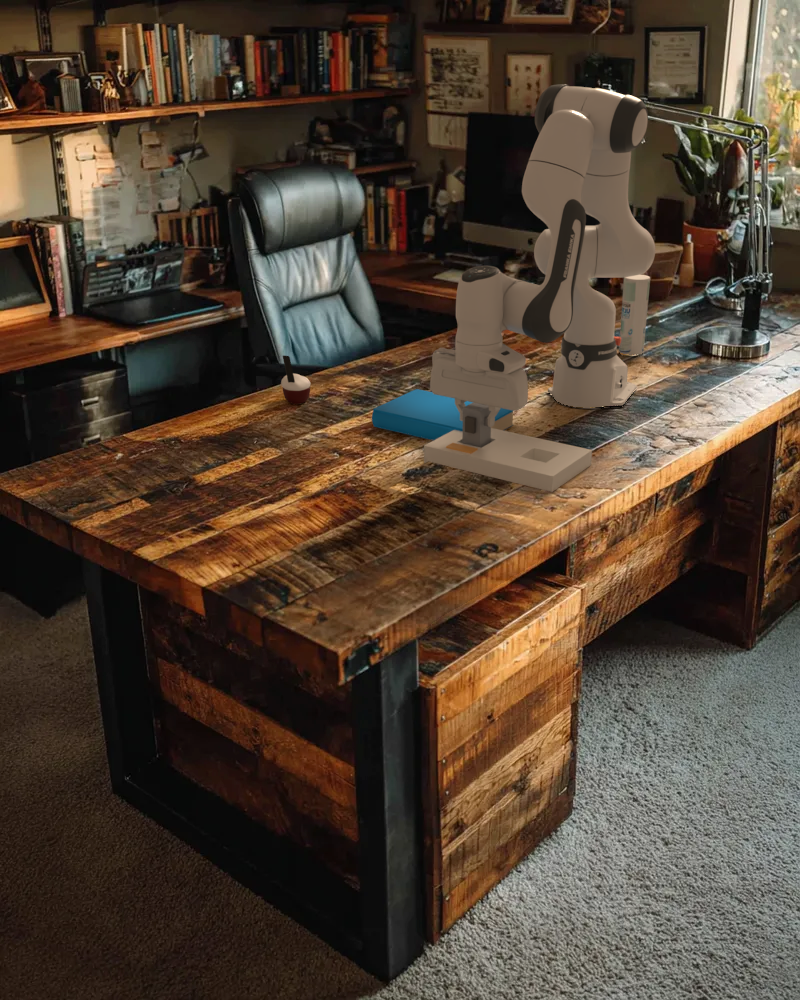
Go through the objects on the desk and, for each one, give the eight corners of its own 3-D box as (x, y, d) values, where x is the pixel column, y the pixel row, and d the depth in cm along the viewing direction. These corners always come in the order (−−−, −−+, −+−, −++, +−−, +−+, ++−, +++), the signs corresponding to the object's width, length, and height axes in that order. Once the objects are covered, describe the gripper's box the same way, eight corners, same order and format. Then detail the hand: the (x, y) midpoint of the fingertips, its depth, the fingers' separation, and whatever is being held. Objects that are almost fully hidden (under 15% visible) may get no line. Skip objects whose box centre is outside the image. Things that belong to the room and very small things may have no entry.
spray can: (648, 355, 281) (654, 278, 273) (625, 357, 279) (631, 280, 271) (636, 349, 287) (642, 273, 279) (614, 351, 285) (619, 275, 277)
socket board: (467, 441, 224) (467, 421, 223) (590, 469, 210) (592, 448, 208) (424, 464, 212) (423, 444, 211) (551, 496, 198) (552, 474, 196)
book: (415, 388, 242) (514, 406, 229) (416, 407, 244) (514, 426, 231) (370, 409, 229) (472, 430, 216) (371, 429, 231) (472, 450, 218)
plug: (472, 445, 216) (473, 402, 213) (490, 449, 214) (491, 405, 211) (460, 452, 213) (460, 408, 209) (477, 456, 211) (478, 412, 207)
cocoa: (300, 396, 254) (298, 345, 250) (320, 400, 250) (318, 349, 246) (271, 404, 247) (268, 352, 243) (290, 409, 243) (288, 356, 239)
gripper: (423, 349, 209) (423, 417, 215) (516, 366, 198) (514, 437, 204) (441, 342, 214) (441, 409, 220) (533, 358, 203) (530, 428, 209)
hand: (477, 423), depth 212 cm, fingers closed on plug, 4 cm apart
